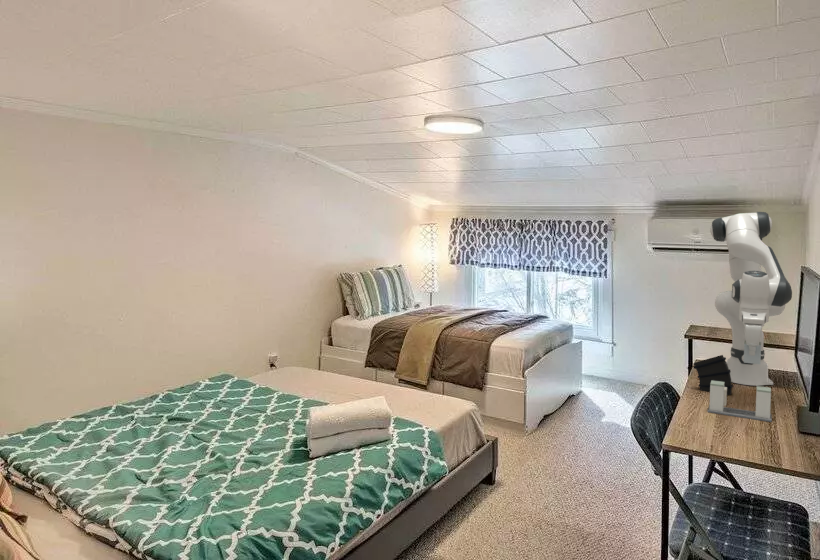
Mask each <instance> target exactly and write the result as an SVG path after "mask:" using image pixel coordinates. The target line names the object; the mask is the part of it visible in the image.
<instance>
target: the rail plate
mask: <svg viewBox="0 0 820 560" xmlns="http://www.w3.org/2000/svg"><path fill="white" fill-rule="evenodd" d="M709 408H710V404H708V408H707V413H711V414H718V415H723V416H724V415H725V416H729V417H737V418H744V419H749V420H755V421H763V422H768V423H772V421H773V419H772V413H770V419H768V418H762V417H755V413H756V410H747V409H740V408H733V407H727V406H724V407H723V411H716V410H710V409H709Z"/></svg>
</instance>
